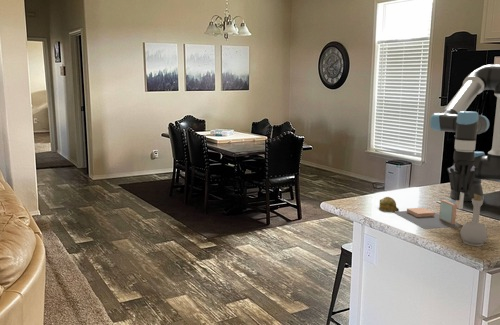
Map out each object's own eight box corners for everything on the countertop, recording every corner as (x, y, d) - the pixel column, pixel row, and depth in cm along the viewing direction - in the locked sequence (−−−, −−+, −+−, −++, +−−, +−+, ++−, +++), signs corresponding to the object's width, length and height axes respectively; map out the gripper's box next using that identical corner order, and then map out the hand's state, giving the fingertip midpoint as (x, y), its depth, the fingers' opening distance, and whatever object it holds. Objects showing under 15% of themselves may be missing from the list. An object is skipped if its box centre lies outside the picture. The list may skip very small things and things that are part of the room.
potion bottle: (455, 239, 169) (459, 191, 166) (478, 238, 170) (483, 190, 167) (468, 247, 161) (473, 197, 158) (492, 247, 162) (497, 196, 158)
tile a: (423, 207, 203) (407, 208, 201) (434, 212, 195) (417, 213, 193) (423, 211, 203) (406, 212, 201) (434, 216, 195) (417, 217, 193)
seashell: (395, 221, 205) (404, 205, 207) (392, 214, 199) (401, 198, 201) (375, 212, 210) (384, 198, 212) (372, 205, 205) (381, 191, 207)
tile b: (442, 218, 193) (443, 199, 191) (454, 224, 185) (456, 204, 184) (438, 218, 192) (440, 199, 191) (451, 224, 185) (453, 205, 183)
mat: (428, 211, 206) (428, 209, 206) (464, 227, 183) (464, 226, 183) (391, 213, 202) (391, 211, 202) (424, 230, 179) (424, 228, 179)
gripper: (471, 148, 190) (466, 204, 194) (444, 149, 187) (438, 206, 191) (485, 151, 183) (479, 209, 187) (456, 152, 180) (450, 211, 184)
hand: (458, 207), depth 189 cm, fingers closed
